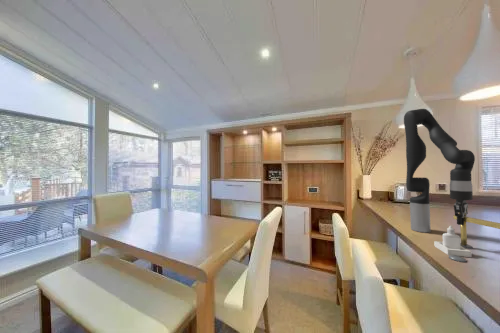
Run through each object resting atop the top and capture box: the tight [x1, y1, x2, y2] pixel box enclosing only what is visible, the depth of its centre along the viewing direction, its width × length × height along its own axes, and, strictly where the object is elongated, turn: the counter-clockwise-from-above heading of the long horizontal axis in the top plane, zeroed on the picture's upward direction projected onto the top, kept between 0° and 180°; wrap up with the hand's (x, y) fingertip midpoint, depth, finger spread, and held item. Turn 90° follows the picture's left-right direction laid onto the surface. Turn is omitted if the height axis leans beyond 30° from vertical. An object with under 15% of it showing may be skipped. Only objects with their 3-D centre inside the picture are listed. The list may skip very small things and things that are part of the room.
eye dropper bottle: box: [442, 225, 461, 250], centre depth 88 cm, size 4×6×12 cm
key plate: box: [460, 242, 474, 250], centre depth 92 cm, size 4×4×1 cm
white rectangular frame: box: [433, 240, 472, 258], centre depth 87 cm, size 10×8×2 cm
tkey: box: [452, 214, 500, 245], centre depth 86 cm, size 18×2×14 cm, turn 7°
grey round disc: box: [448, 255, 467, 263], centre depth 80 cm, size 5×5×1 cm
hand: (461, 223), depth 93 cm, fingers closed on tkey, 3 cm apart
